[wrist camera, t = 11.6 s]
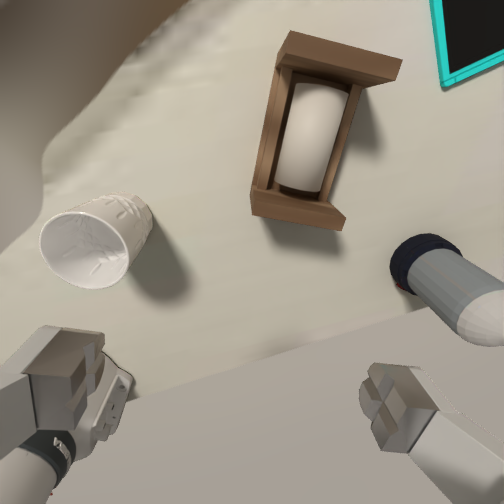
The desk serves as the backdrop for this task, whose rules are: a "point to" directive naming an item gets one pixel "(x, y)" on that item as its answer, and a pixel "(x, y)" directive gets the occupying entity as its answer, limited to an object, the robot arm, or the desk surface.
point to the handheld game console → (467, 37)
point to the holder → (280, 99)
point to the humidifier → (452, 288)
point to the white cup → (96, 240)
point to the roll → (310, 136)
